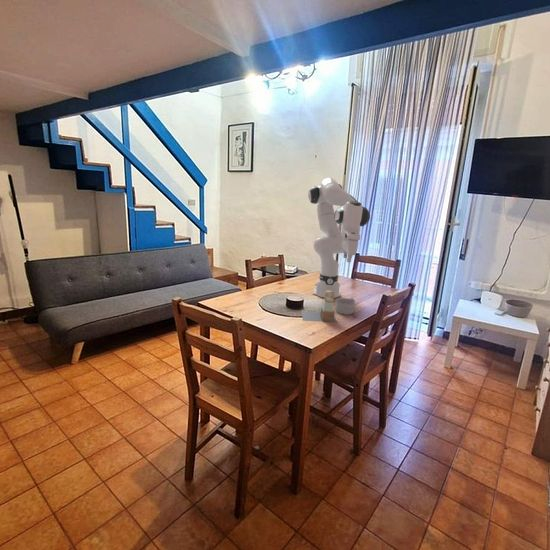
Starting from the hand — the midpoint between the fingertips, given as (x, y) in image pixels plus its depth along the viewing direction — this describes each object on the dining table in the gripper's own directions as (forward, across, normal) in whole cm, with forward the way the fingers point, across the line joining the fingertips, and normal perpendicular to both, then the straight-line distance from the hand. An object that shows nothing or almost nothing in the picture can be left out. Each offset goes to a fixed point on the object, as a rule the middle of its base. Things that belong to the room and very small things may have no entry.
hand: (346, 260), depth 171 cm
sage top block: (+26, +6, -8) cm, 28 cm away
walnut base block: (+31, +6, -8) cm, 33 cm away
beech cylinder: (+21, +6, -8) cm, 23 cm away
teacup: (+33, -7, +5) cm, 34 cm away
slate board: (+32, +3, -12) cm, 35 cm away
